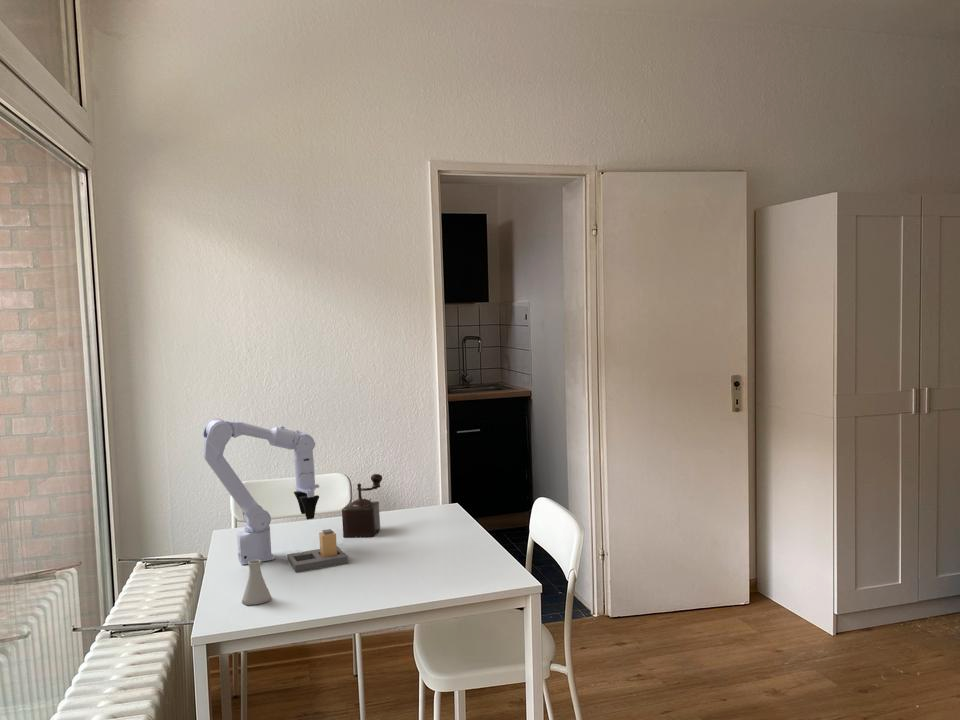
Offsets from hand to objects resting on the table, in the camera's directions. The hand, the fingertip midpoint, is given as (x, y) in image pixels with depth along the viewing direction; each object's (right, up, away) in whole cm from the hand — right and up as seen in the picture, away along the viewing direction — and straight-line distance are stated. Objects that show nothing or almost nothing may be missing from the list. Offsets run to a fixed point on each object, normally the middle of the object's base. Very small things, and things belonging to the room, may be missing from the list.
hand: (307, 516), depth 231 cm
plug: (+9, -11, -11) cm, 18 cm away
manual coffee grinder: (+15, -9, +19) cm, 26 cm away
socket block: (+6, -11, -12) cm, 17 cm away
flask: (-3, -13, -42) cm, 44 cm away
